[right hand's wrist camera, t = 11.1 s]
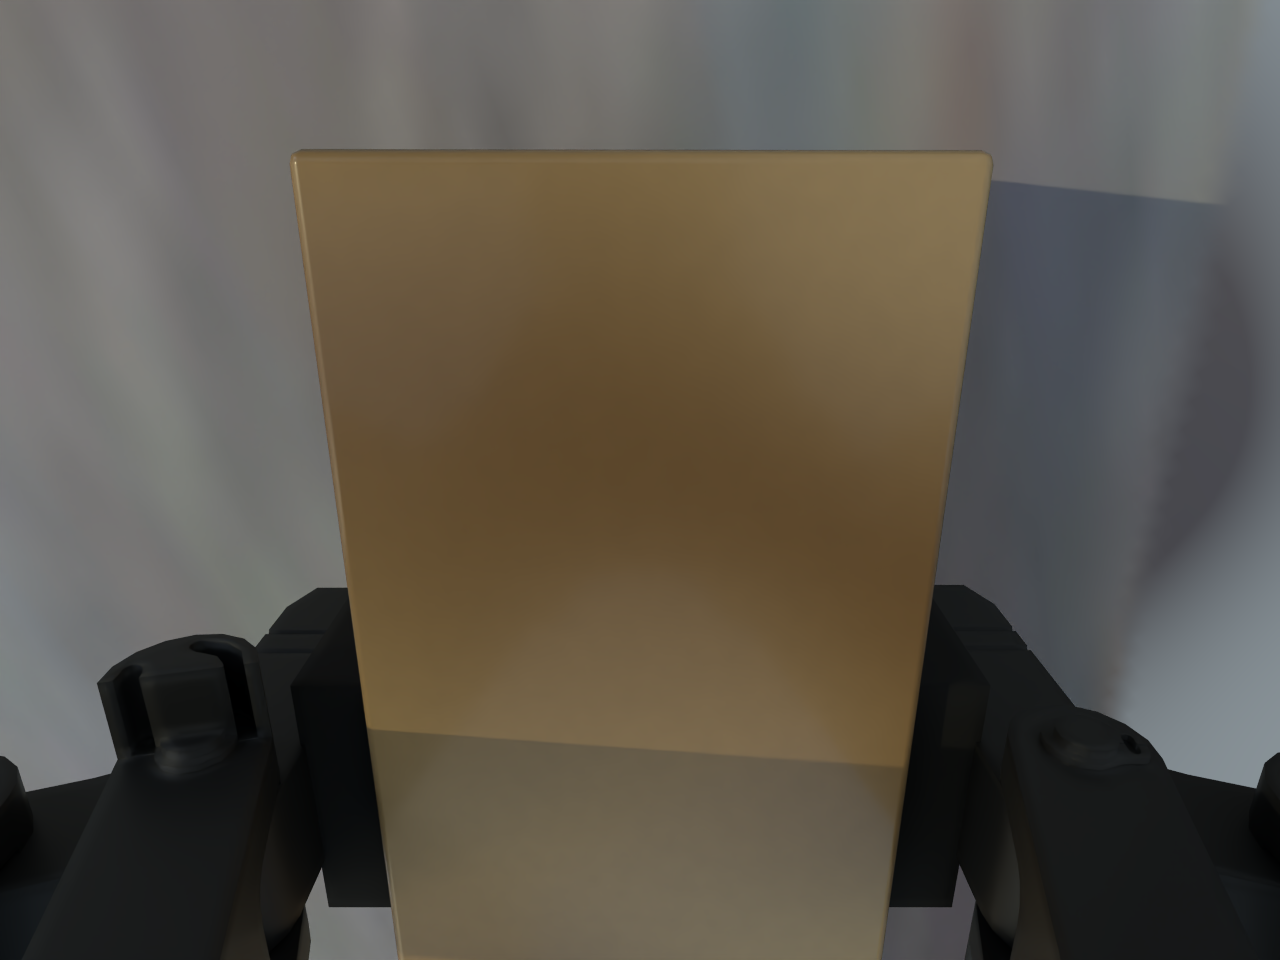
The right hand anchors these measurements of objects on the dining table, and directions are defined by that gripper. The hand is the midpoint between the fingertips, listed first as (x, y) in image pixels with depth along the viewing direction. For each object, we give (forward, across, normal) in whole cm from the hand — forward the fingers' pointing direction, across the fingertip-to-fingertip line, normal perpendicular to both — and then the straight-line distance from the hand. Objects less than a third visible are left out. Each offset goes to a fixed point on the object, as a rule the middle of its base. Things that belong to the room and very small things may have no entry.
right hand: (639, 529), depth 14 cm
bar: (+1, 0, -32) cm, 32 cm away
